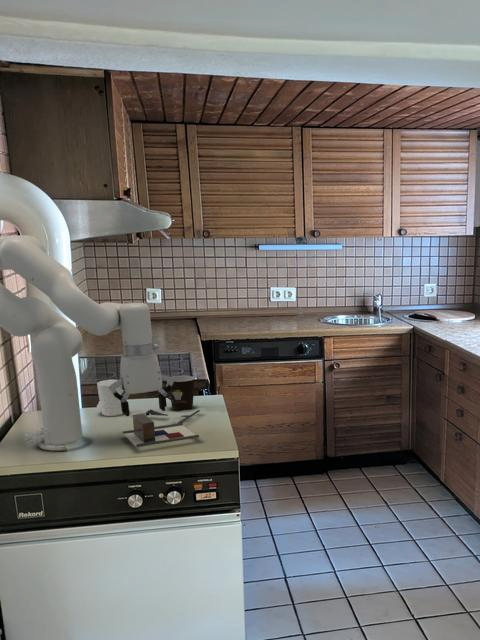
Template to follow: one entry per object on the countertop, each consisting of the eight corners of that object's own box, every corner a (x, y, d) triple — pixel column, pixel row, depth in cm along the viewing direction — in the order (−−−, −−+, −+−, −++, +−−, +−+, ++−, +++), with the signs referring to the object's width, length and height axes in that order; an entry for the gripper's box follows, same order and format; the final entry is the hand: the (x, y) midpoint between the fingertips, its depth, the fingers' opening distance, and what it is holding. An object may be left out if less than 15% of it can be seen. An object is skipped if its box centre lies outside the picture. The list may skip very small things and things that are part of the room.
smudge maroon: (169, 438, 191) (169, 437, 191) (164, 435, 194) (164, 434, 194) (183, 436, 193) (183, 435, 193) (179, 433, 196) (178, 431, 196)
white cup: (113, 408, 226) (110, 378, 223) (131, 412, 222) (129, 381, 220) (94, 414, 219) (91, 383, 216) (113, 418, 215) (110, 386, 213)
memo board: (137, 452, 184) (136, 444, 184) (123, 438, 196) (122, 431, 195) (199, 442, 193) (199, 435, 193) (182, 429, 205) (182, 422, 204)
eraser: (144, 443, 187) (142, 423, 185) (134, 433, 195) (132, 414, 193) (155, 441, 188) (154, 422, 187) (144, 432, 197) (143, 413, 195)
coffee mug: (201, 407, 228) (200, 377, 225) (182, 413, 221) (180, 382, 218) (176, 402, 234) (174, 373, 231) (156, 408, 227) (154, 378, 224)
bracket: (157, 412, 222) (157, 403, 222) (201, 415, 220) (201, 406, 219) (135, 425, 209) (134, 416, 208) (182, 428, 206) (181, 419, 205)
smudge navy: (153, 436, 193) (153, 435, 193) (149, 432, 196) (149, 431, 196) (167, 434, 195) (167, 433, 195) (163, 430, 198) (163, 429, 198)
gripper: (166, 344, 193) (171, 404, 197) (101, 351, 184) (108, 414, 188) (175, 348, 187) (180, 410, 191) (108, 356, 178) (115, 420, 182)
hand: (144, 412), depth 190 cm, fingers open, 9 cm apart
